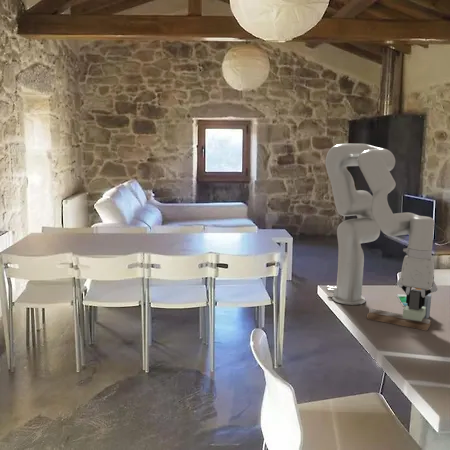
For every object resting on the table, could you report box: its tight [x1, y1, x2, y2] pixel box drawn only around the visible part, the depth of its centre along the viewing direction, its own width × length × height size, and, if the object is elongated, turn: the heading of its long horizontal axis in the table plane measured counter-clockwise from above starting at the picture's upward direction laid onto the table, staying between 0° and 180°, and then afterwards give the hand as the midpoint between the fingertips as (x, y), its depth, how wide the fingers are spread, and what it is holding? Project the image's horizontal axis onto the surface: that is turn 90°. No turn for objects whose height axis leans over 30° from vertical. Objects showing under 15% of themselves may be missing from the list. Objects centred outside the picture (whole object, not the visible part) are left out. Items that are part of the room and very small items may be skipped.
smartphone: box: [395, 293, 408, 308], centre depth 205 cm, size 7×1×15 cm
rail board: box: [366, 308, 432, 332], centre depth 183 cm, size 20×7×2 cm, turn 59°
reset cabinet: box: [424, 293, 433, 319], centre depth 187 cm, size 6×6×8 cm
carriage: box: [402, 288, 426, 321], centre depth 179 cm, size 6×7×9 cm
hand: (415, 306), depth 179 cm, fingers closed on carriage, 3 cm apart
